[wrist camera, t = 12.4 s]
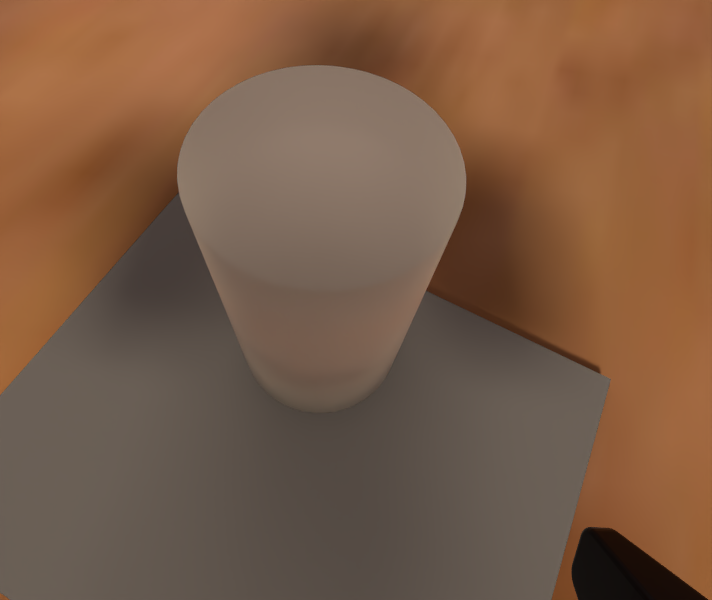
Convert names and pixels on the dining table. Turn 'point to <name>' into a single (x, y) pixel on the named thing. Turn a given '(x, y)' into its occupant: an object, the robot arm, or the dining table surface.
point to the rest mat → (282, 456)
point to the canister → (320, 223)
